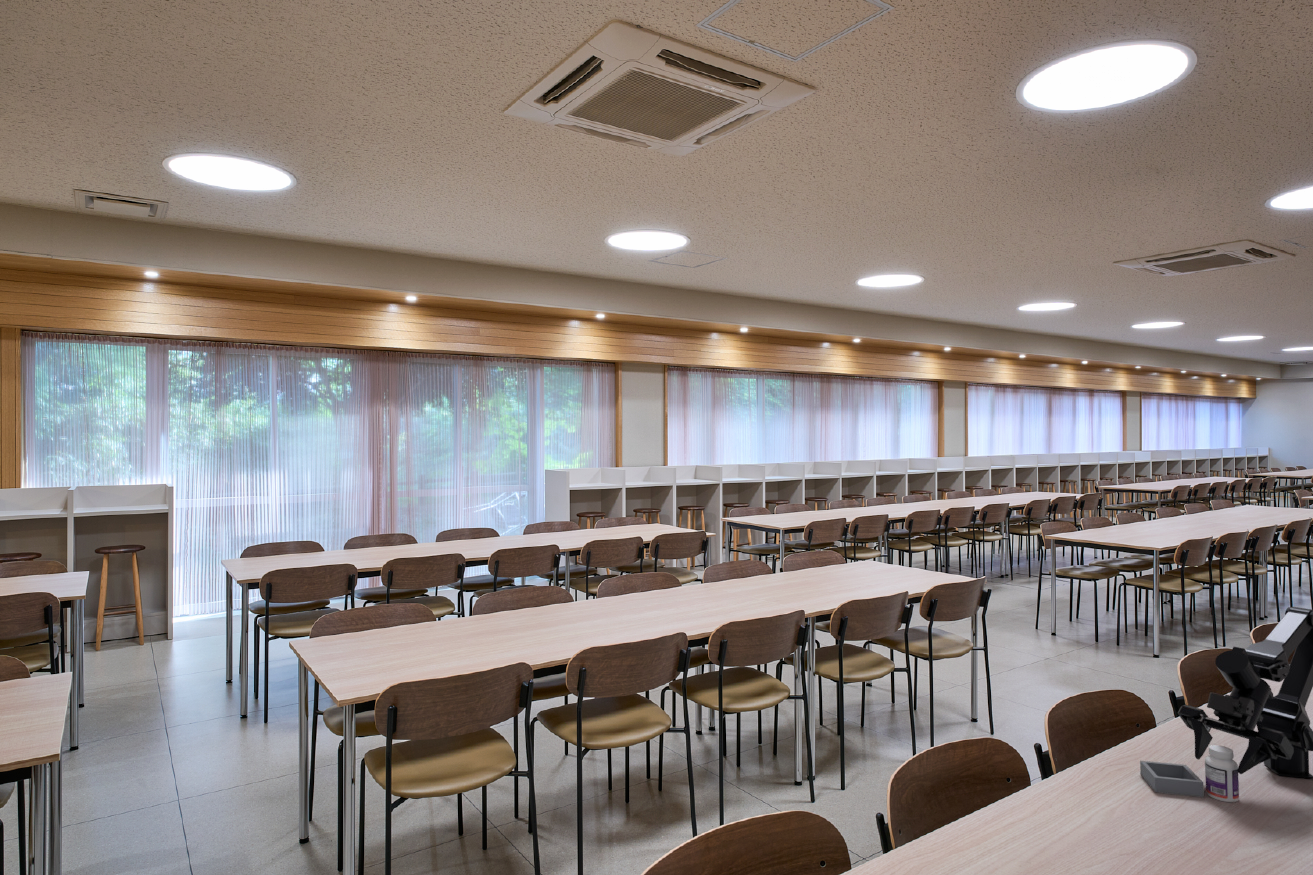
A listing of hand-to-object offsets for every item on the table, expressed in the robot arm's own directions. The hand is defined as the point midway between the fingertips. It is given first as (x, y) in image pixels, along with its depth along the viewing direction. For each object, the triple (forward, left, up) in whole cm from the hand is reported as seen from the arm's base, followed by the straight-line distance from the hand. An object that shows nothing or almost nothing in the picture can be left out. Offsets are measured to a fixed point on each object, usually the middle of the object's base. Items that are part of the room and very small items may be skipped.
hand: (1217, 765), depth 149 cm
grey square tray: (+7, -4, -7) cm, 10 cm away
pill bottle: (-1, -1, -7) cm, 7 cm away
